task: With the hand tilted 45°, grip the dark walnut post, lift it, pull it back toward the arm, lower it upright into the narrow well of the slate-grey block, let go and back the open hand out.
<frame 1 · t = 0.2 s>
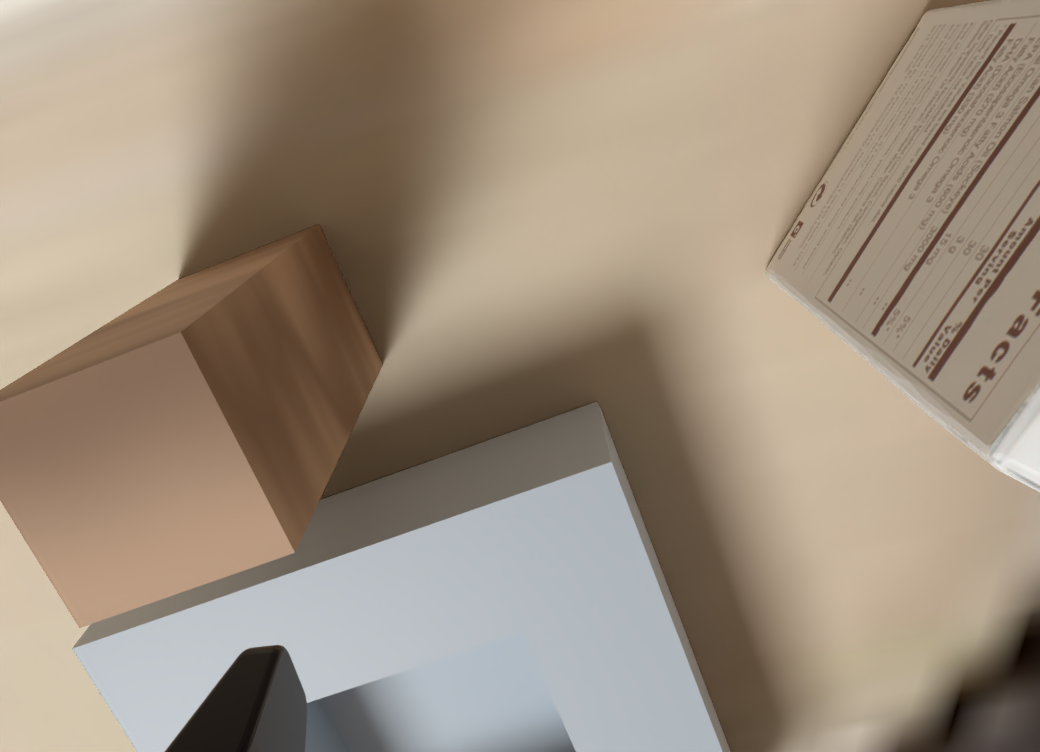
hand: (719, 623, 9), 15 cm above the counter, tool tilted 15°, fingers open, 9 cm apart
walnut post: (281, 322, 24), on the counter
well block: (455, 684, 28), on the counter
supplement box: (950, 210, 23), on the counter
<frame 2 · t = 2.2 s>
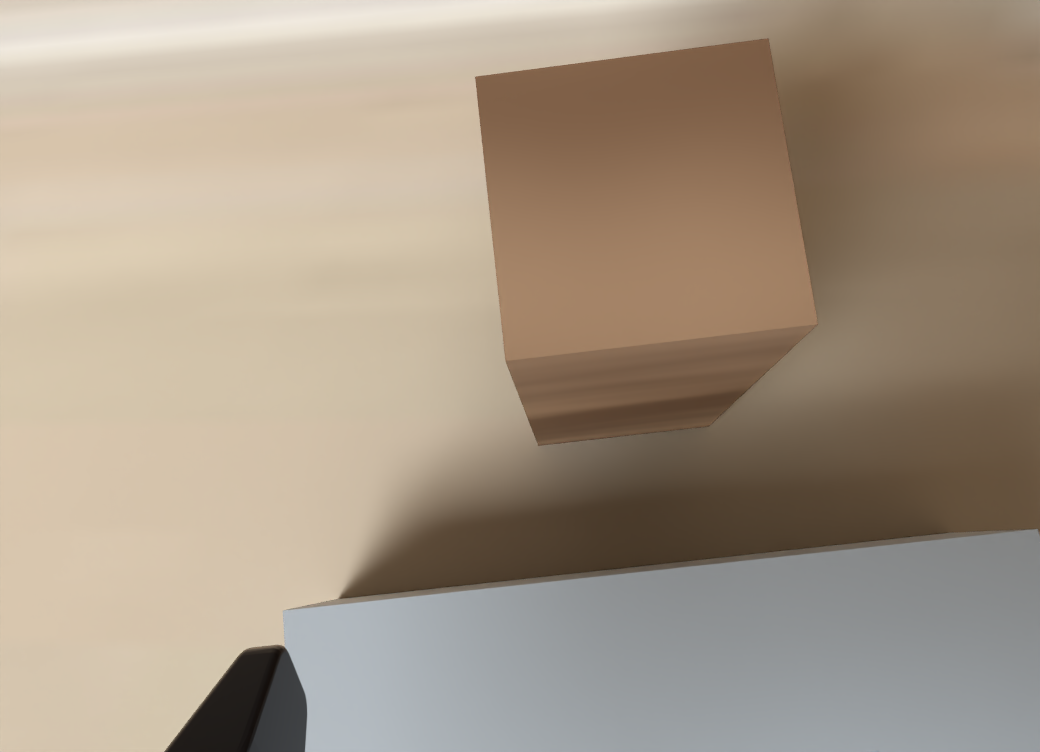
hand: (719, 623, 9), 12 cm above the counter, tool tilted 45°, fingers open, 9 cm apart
walnut post: (612, 352, 22), on the counter
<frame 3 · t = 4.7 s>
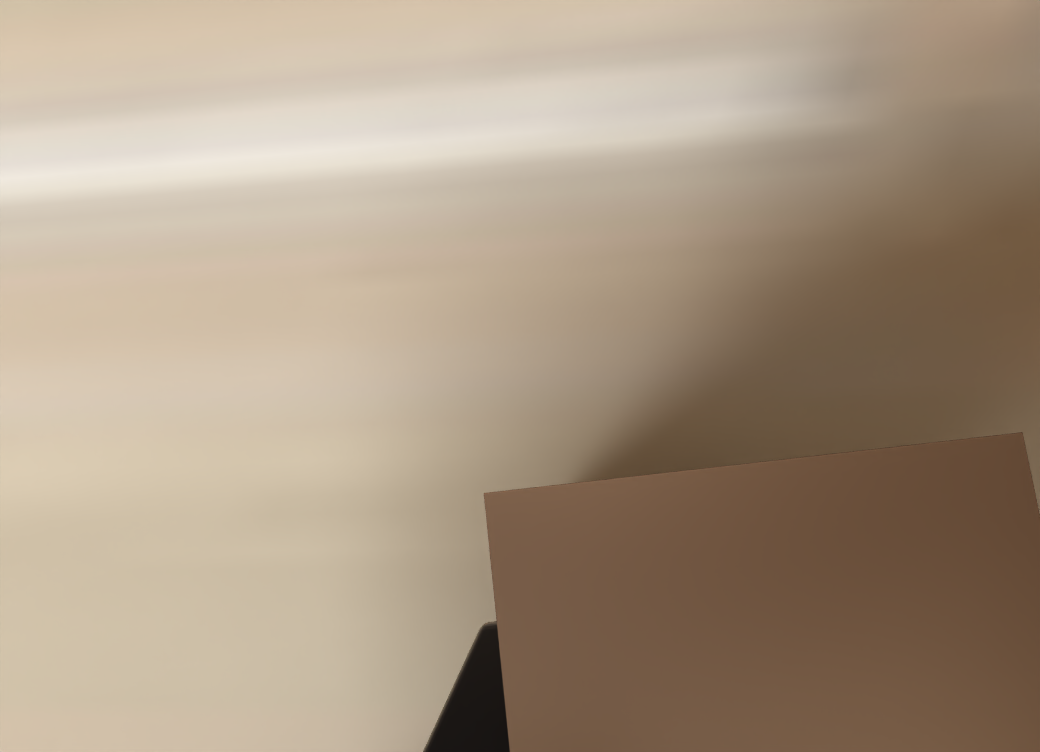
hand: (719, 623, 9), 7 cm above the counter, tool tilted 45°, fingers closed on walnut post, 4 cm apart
walnut post: (663, 622, 16), on the counter, touching gripper
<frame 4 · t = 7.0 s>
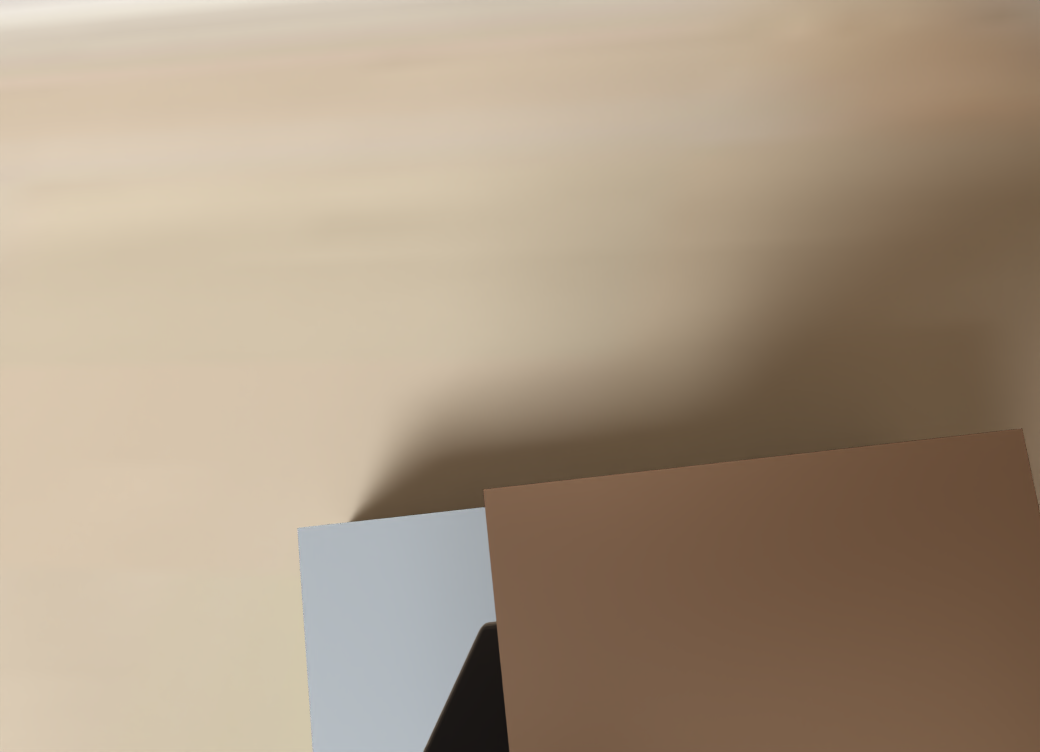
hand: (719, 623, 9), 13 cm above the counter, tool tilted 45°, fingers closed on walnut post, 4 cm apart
walnut post: (663, 621, 16), point 6 cm above the counter, touching gripper
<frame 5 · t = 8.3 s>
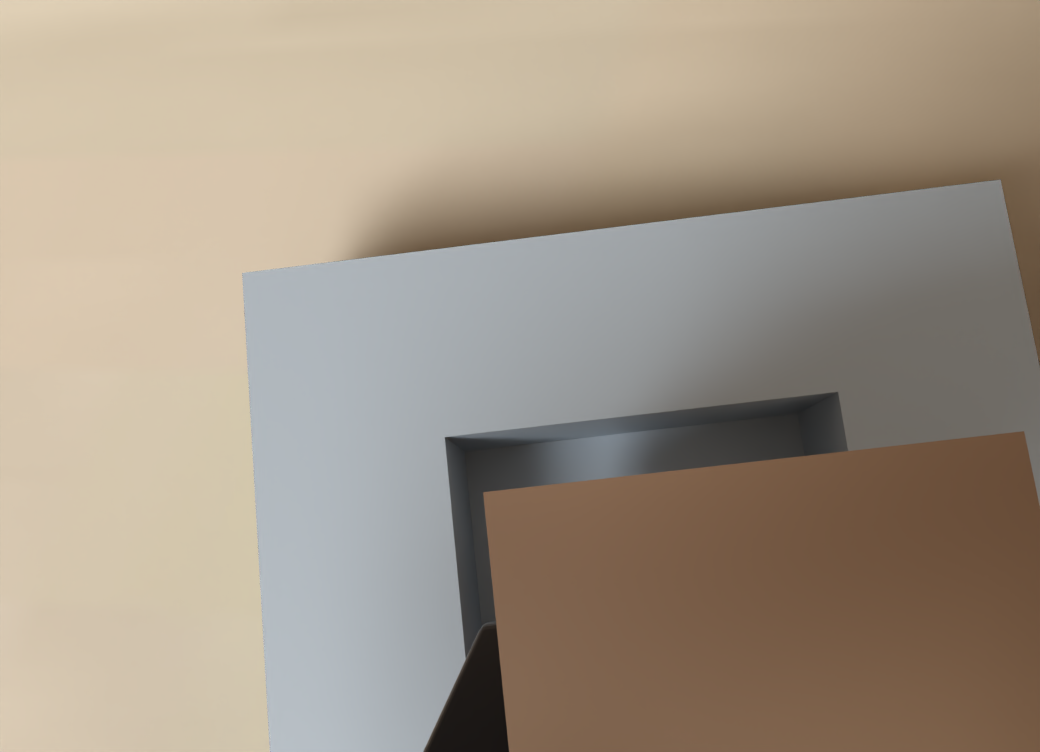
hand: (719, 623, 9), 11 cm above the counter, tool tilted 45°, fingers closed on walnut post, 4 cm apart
walnut post: (663, 622, 16), point 3 cm above the counter, touching gripper
well block: (648, 599, 20), on the counter
when the fingers open (9 cm above the counter, at t = 9.3 s): walnut post drops 1 cm, resting on well block.
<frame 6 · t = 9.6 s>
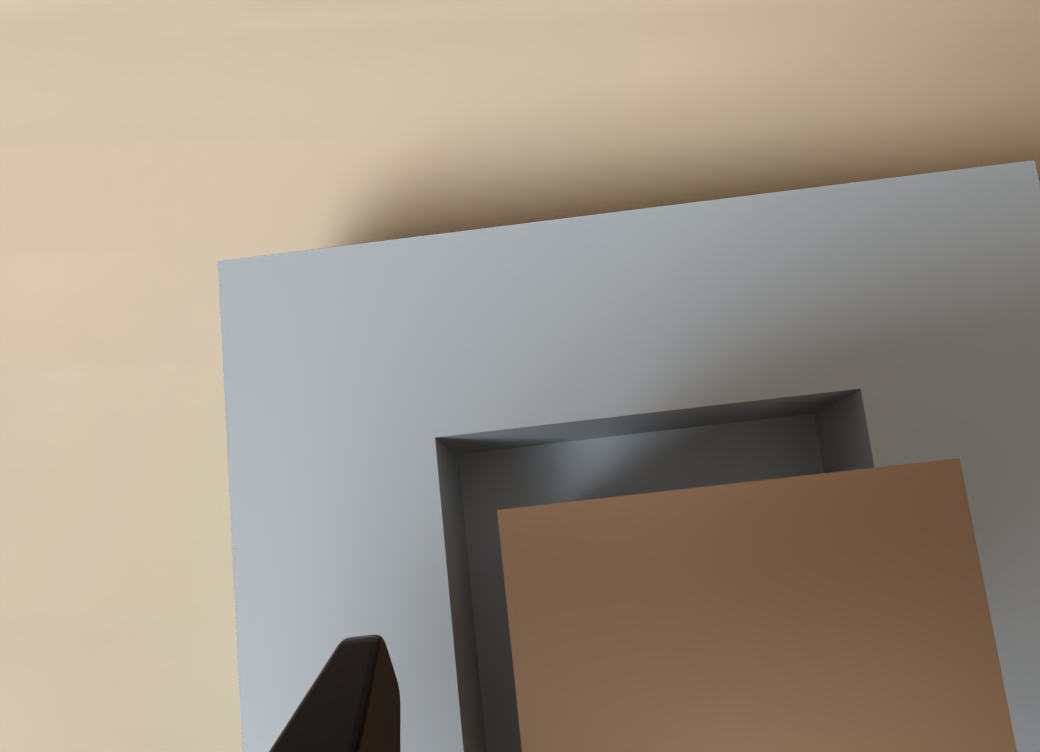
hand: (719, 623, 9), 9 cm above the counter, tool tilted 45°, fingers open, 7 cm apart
walnut post: (658, 621, 17), point 1 cm above the counter, touching well block
well block: (654, 612, 18), on the counter
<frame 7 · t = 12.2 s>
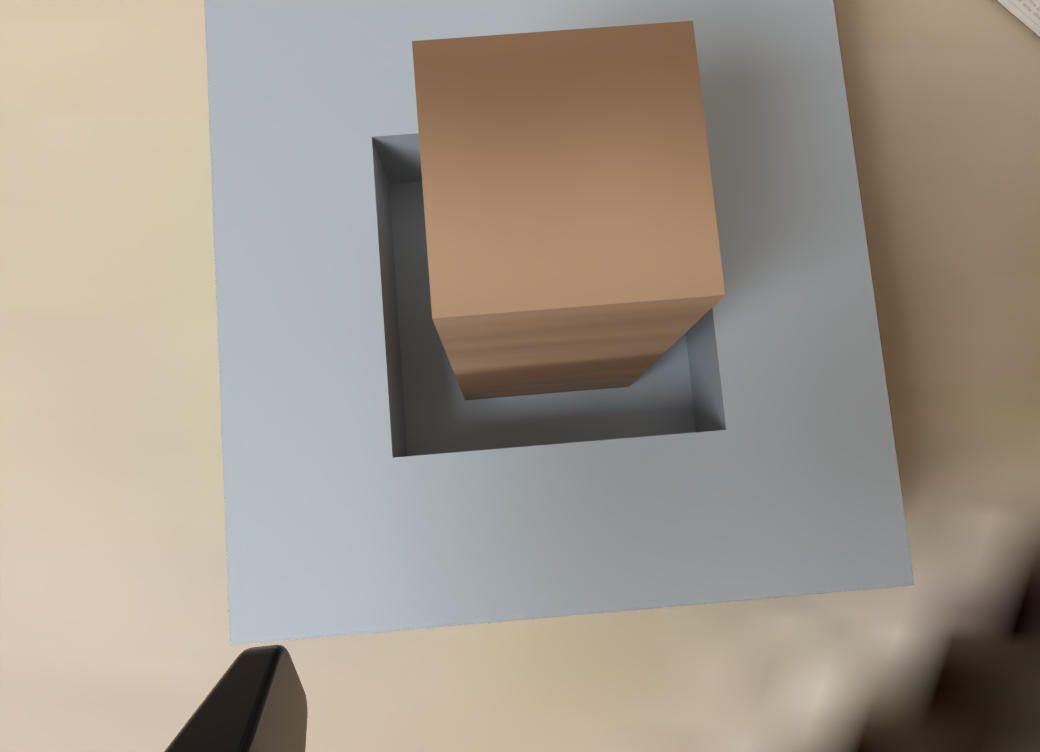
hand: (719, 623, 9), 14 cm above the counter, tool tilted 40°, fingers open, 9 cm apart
walnut post: (540, 313, 23), point 1 cm above the counter, touching well block
well block: (539, 317, 24), on the counter
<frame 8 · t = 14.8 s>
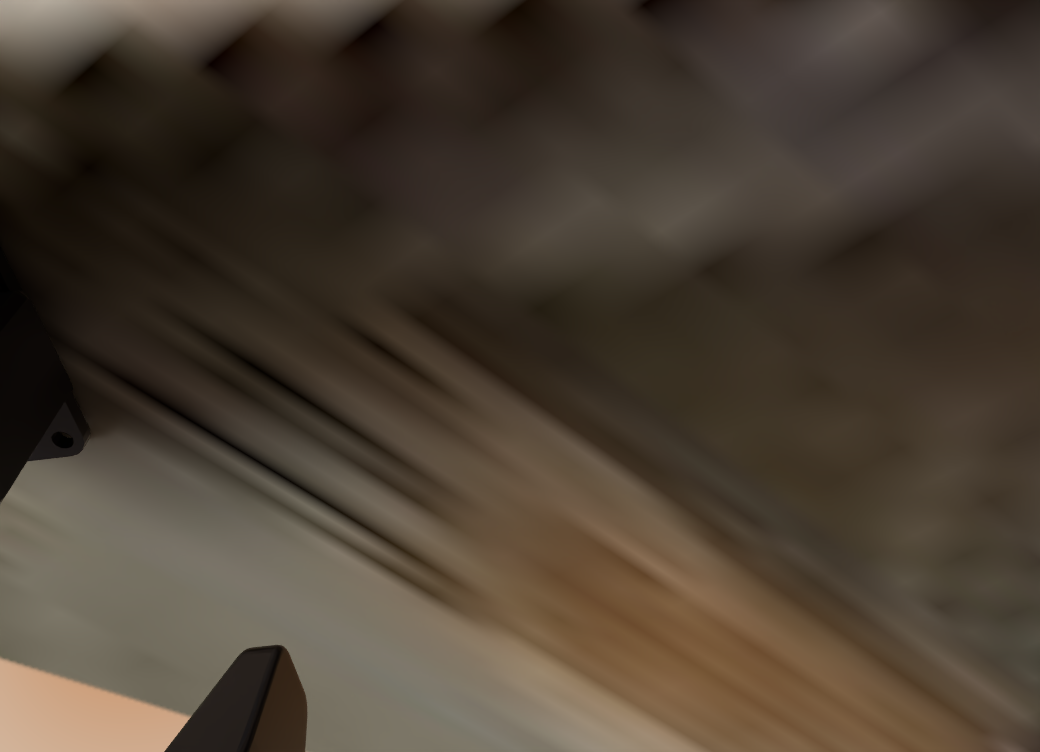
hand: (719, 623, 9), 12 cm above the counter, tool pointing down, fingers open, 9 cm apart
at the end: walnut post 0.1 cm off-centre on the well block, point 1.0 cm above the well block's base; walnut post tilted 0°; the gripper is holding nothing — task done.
